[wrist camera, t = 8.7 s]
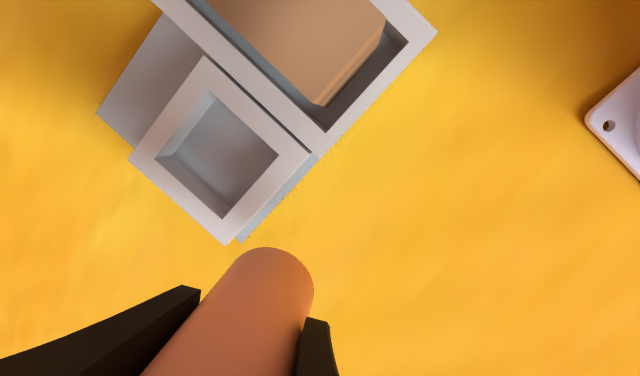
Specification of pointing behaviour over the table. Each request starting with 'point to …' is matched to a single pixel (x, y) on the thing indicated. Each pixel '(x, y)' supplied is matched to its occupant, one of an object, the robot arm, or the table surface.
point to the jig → (237, 112)
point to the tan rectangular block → (309, 39)
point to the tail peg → (243, 321)
